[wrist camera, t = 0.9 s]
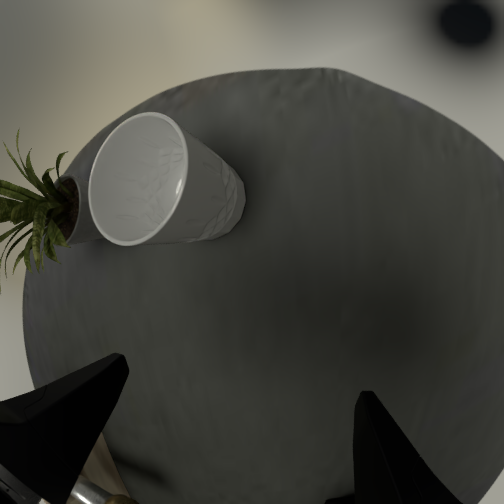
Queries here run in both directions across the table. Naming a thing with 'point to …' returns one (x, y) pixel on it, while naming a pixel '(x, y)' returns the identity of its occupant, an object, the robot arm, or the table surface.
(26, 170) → the house plant
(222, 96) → the table surface
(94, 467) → the birch beam
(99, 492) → the axle
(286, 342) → the table surface
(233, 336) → the table surface
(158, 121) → the white cup
